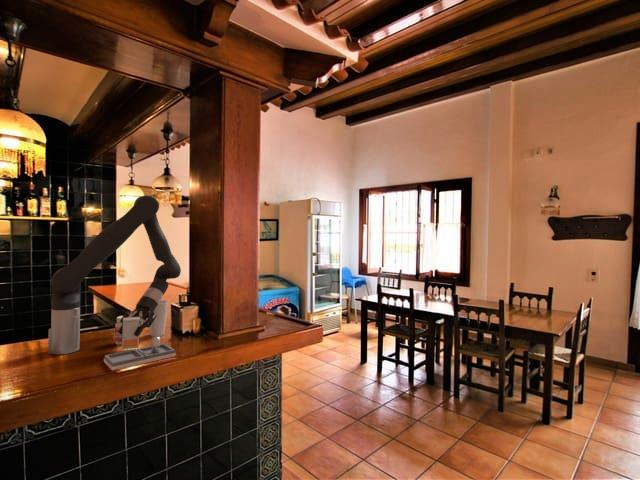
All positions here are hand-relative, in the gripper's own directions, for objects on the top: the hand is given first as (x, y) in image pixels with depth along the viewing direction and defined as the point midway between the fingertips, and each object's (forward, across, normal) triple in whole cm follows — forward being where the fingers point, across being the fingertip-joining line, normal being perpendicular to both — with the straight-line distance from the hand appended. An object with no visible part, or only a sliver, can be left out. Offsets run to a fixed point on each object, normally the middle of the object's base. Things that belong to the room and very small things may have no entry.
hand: (127, 334), depth 138 cm
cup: (-11, -5, +22) cm, 25 cm away
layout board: (+8, +11, +2) cm, 14 cm away
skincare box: (+3, 0, +5) cm, 6 cm away
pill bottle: (-1, -11, +11) cm, 16 cm away
